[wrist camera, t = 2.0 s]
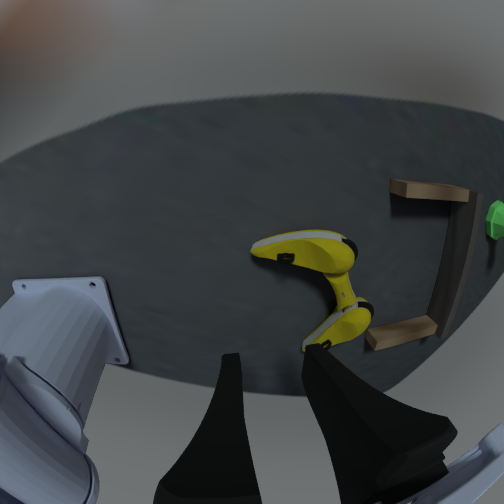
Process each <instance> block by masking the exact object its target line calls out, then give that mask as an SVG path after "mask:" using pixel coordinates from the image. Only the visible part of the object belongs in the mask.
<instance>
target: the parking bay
mask: <svg viewBox="0 0 504 504" xmlns="http://www.w3.org/2000/svg"><path fill="white" fill-rule="evenodd" d="M390 192H391V193H394V194H397V195H400V196H402V197H405V198H421V199H437V200H450V201H452V204H451V212H450V219H449V225H448V231H447V236H446V242H445V247H444V251H443V256H442V261H441V265H440V269H439V273H438V277H437V281H436V285H435V288H434V292H433V295H432V299H431V302H430V305H429V309H428V312H427V315H424V316H420V317H416V318H412V319H408V320H404V321H400V322H396V323H392V324H387V325H383V326H378V327H374V328H369V329H367V331H366V335H365V339H366V340H367V341H368V343H369V344H370V345H371V347H372V348H373V349H374V351H377V350H380V349H384V348H388V347H392V346H395V345H399V344H402V343H406V342H409V341H413V340H416V339H419V338H422V337H425V336H428V335H431V334H434V333H435V334H436V335H437V336H438V337H439V338H440V339H442V338H444V337H447V334H448V332H449V329H450V327H451V324H452V322H453V319H454V316H455V313H456V311H457V308H458V305H459V302H460V299H461V296H462V293H463V290H464V286H465V283H466V279H467V276H468V272H469V269H470V265H471V261H472V257H473V253H474V248H475V244H476V239H477V234H478V229H479V223H480V217H481V211H482V203H483V196H484V194H483V193H480V192H477V191H474V190H470V189H467V188H464V187H460V186H454V185H446V184H438V183H430V182H420V181H410V180H399V179H391V183H390Z"/></svg>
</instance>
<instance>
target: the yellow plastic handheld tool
mask: <svg viewBox="0 0 504 504" xmlns="http://www.w3.org/2000/svg"><path fill="white" fill-rule="evenodd" d="M250 252H251V253H252V254H253V255H255V256H257V257H262V258H269V259H273V260H277V261H278V262H279V263H282V264H290V263H291V264H295V265H299V266H303V267H307V268H310V269H314V270H317V271H320V272H323V275H324V276H325V277H326V278H327V279H328V281H329V282H330V284H331V285H332V287H333V290H334V292H335V295H336V299H337V306H336V308H335V309H334V311H333V313H332V314H331V315H330V316H329V317H328V318H327V319H326V320H325V321H324V322H323V323H322V324H321V325H320V326H319V327H317V328H316V329H315V330H314V331H313V332H312V333H311V334H310V335H309V336H308V337H307V338H306V339H305V340H304V341H303V346H302V351H303V352H305V347H306V345H309V344H315V343H320V344H321V345H322V346H323V347H324V348H325V349H326V350H328V349H329V348H330V347H331V346H332V345H335V344H338V343H341V342H345V341H349V340H352V339H354V338H355V337H357V336H358V335H360V334H361V333H362V332H363V331H364V330H365V329H366V328H367V327H368V325H369V323H370V321H371V319H372V317H373V315H374V308H373V306H372V305H371V304H370V303H368V302H367V301H366V300H365V299H363V298H361V297H355V294H354V292H353V290H352V287H351V284H350V281H349V276H348V270H349V269H350V268H351V267H352V266H353V263H354V261H355V260H356V258H357V256H358V249H357V247H356V245H355V243H354V242H352V241H351V240H349V239H347V238H346V237H344V236H343V235H341V234H339V233H336V232H332V231H327V230H303V231H295V232H289V233H284V234H279V235H275V236H272V237H268V238H265V239H262V240H260V241H258V242H256V243H254V244H253V246H252V249H251V251H250Z"/></svg>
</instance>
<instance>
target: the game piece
mask: <svg viewBox="0 0 504 504" xmlns="http://www.w3.org/2000/svg"><path fill="white" fill-rule="evenodd" d="M486 234H487V235H489V236H490V237H491V238H493V239H495V240H497V239H498V238H499V237H503V236H504V204H503V203H502V202H501V201H498V200H497V201H496V202H495V203H493V204H492V205H491V206H490V209H489V212H488V215H487V218H486Z"/></svg>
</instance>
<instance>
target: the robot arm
mask: <svg viewBox="0 0 504 504" xmlns="http://www.w3.org/2000/svg"><path fill="white" fill-rule="evenodd" d="M91 282H93V283H95V285H96V286H93V285H92V283H91ZM25 286H26V287H25ZM13 289H14V291H15V294H14V295H13V296H12V297H11V298H10V299H9V300H8V301H7V302H6V303H5V304H4V305H3V306H2V307H1V308H0V504H96V501H97V498H98V494H99V476H98V472H97V469H96V467H95V465H94V463H93V462H92V460H91V459H90V458H89V457H88V456H87V455H86V450H87V446H88V442H89V440H88V439H87V438H86V437H85V435H84V433H83V429H84V426H85V423H86V419H87V416H88V413H89V410H90V406H91V403H92V400H93V397H94V394H95V391H96V388H97V386H98V383H99V380H100V377H101V374H102V371H103V369H104V366H105V364H127V363H128V362H129V356H128V354H127V351H126V348H125V345H124V342H123V339H122V336H121V333H120V330H119V327H118V324H117V320H116V317H115V314H114V310H113V307H112V303H111V299H110V296H109V292H108V288H107V284H106V281H105V280H104V279H103V278H102V277H78V278H52V279H22V280H15V281H14V282H13ZM117 358H118V359H117ZM301 377H302V381H303V385H304V389H305V392H306V395H307V398H308V400H309V403H310V405H311V407H312V410H313V412H314V414H315V417H316V419H317V421H318V423H319V426H320V428H321V430H322V433H323V435H324V438H325V440H326V443H327V447H328V450H329V453H330V457H331V461H332V465H333V468H334V472H335V477H336V480H337V485H338V490H339V495H340V500H341V504H407V503H409V502H411V501H412V502H411V504H472V503H473V502H474V501H475V500H477V498H479V497H480V496H481V495H482V494H483V493H484V492H485V491H486V490H487V489H488V488H489V487H490V486H491V485H492V484H494V483H495V481H496V480H497V479H498V478H499V477H500V476H501V475H502V474H503V473H504V426H503V425H502V423H500V424H498V425H497V426H496V427H495V428H494V429H493V430H491V431H490V432H489V433H488V434H487V435H486V436H485V437H484V438H483V439H482V440H481V441H480V442H479V443H478V445H476V446H475V447H474V448H472V449H471V450H470V451H468V452H467V453H465V454H464V455H463V456H461V457H460V458H458V459H457V460H455V461H454V462H452V463H451V464H450V465H448V466H445V464H444V463H443V460H444V459H445V456H444V454H443V453H442V452H443V451H444V450H445V449H446V448H447V447H448V446H449V445H450V443H451V442H452V441H453V440H454V439H455V437H456V435H457V433H458V432H457V430H456V428H455V427H454V425H453V424H452V423H451V421H450V420H449V419H448V417H445V416H440V415H437V414H432V413H428V412H425V411H422V410H419V409H416V408H413V407H411V406H408V405H406V404H403V403H401V402H399V401H397V400H395V399H393V398H391V397H389V396H387V395H385V394H383V393H382V392H380V391H378V390H377V389H375V388H373V387H372V386H370V385H369V384H367V383H366V382H365V381H363V380H362V379H360V378H359V377H358V376H356V375H355V374H354V373H353V372H351V371H350V370H349V369H348V368H347V367H345V366H344V365H343V364H342V363H341V362H340V361H338V360H337V359H336V358H335V357H334V356H333V355H332V354H331V353H330V352H328V351H327V350H326V349H325V348H324V347H323V346H322V345H321V344H320V343H315V344H309V345H306V347H305V354H304V362H303V369H302V375H301ZM153 504H262V501H261V496H260V492H259V487H258V483H257V479H256V474H255V470H254V466H253V461H252V456H251V451H250V446H249V441H248V436H247V430H246V425H245V419H244V405H243V388H242V371H241V361H240V356H239V353H232V354H224V355H223V356H222V362H221V369H220V374H219V378H218V381H217V385H216V388H215V391H214V394H213V398H212V400H211V403H210V405H209V408H208V410H207V412H206V414H205V416H204V419H203V420H202V422H201V424H200V426H199V428H198V430H197V432H196V433H195V435H194V437H193V438H192V440H191V442H190V443H189V445H188V446H187V448H186V449H185V451H184V452H183V454H182V455H181V456H180V457H179V459H178V460H177V461H176V463H175V464H174V465H173V466H172V468H171V469H170V470H169V471H168V472H167V473H166V474H165V475H164V477H163V478H162V479H161V480H160V481H159V484H158V486H157V489H156V492H155V496H154V501H153Z"/></svg>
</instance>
